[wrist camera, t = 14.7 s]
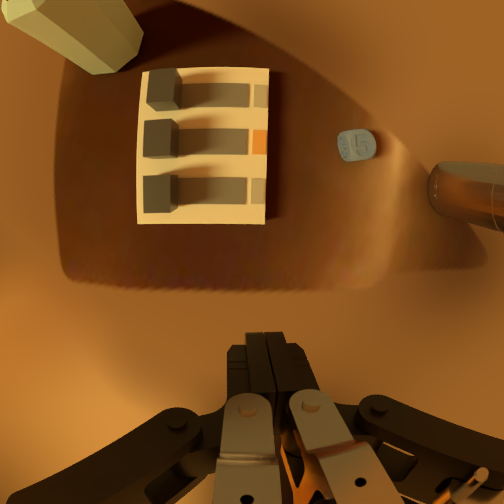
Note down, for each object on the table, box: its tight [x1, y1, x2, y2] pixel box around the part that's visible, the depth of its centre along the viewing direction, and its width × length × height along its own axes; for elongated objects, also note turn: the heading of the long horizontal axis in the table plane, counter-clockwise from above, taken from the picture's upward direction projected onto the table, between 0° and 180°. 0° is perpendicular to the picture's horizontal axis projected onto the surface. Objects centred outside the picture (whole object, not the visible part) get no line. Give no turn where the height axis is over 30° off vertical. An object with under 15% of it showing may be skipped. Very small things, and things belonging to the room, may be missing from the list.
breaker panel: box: [136, 67, 269, 224], centre depth 32 cm, size 16×20×3 cm
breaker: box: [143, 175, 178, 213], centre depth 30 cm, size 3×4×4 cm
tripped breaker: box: [143, 118, 179, 159], centre depth 28 cm, size 3×4×4 cm
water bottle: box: [1, 0, 144, 75], centre depth 16 cm, size 10×10×25 cm
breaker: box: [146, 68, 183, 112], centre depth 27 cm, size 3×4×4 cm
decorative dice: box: [338, 129, 377, 162], centre depth 33 cm, size 4×4×4 cm
